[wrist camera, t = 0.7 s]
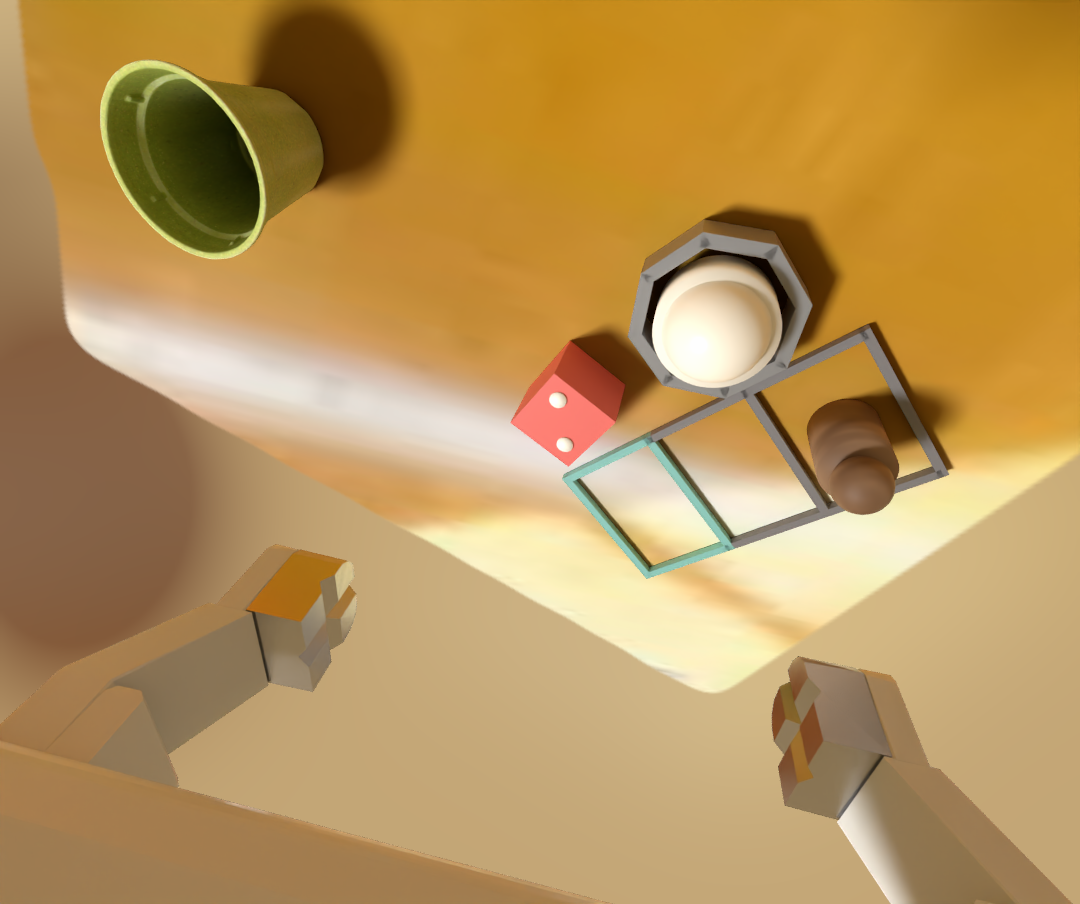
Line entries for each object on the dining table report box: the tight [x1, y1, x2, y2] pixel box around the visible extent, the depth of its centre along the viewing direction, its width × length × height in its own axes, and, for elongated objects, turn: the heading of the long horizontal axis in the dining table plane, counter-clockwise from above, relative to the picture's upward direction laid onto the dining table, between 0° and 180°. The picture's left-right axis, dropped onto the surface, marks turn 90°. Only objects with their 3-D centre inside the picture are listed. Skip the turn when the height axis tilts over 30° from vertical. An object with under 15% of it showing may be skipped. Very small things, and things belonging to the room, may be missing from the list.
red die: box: [510, 341, 625, 466], centre depth 40 cm, size 5×5×5 cm
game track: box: [562, 324, 949, 579], centre depth 43 cm, size 23×12×1 cm, turn 129°
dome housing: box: [628, 219, 813, 399], centre depth 35 cm, size 10×10×3 cm
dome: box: [652, 255, 782, 388], centre depth 33 cm, size 7×7×6 cm
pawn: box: [807, 399, 899, 515], centre depth 36 cm, size 4×4×8 cm
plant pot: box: [100, 60, 324, 259], centre depth 34 cm, size 9×9×9 cm
